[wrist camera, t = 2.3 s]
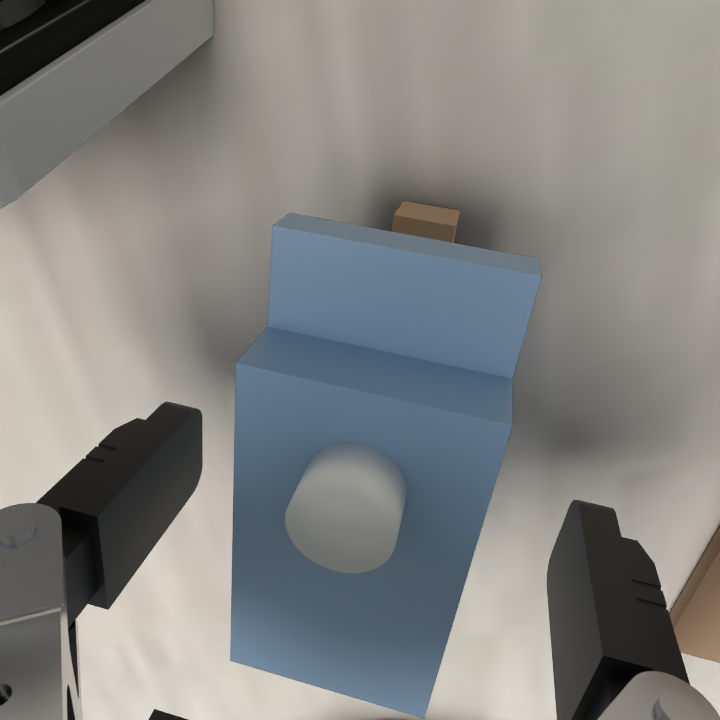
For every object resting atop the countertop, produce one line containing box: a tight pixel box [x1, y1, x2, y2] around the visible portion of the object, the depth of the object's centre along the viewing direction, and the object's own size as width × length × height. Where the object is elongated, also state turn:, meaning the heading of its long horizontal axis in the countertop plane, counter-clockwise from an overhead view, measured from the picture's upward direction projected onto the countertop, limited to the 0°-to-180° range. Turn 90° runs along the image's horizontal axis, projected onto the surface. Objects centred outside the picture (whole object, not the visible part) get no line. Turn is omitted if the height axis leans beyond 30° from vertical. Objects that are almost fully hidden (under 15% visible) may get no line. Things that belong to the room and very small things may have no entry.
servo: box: [230, 201, 542, 718], centre depth 12 cm, size 4×10×7 cm, turn 173°
